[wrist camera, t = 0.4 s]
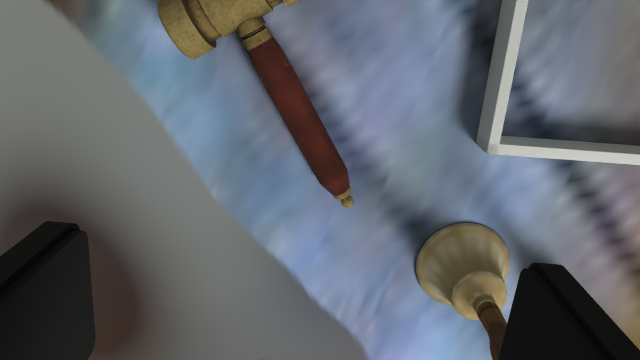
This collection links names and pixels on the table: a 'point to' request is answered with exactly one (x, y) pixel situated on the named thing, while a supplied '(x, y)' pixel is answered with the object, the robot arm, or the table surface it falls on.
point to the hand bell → (468, 275)
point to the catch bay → (498, 100)
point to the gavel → (260, 73)
